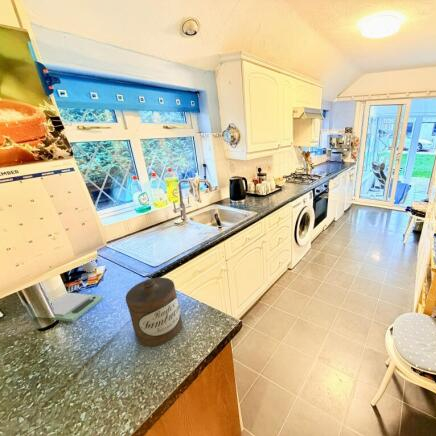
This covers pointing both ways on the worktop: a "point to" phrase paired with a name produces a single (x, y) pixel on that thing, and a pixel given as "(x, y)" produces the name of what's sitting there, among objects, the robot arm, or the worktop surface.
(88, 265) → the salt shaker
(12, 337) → the worktop surface
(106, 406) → the worktop surface
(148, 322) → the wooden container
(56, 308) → the kitchen scale
